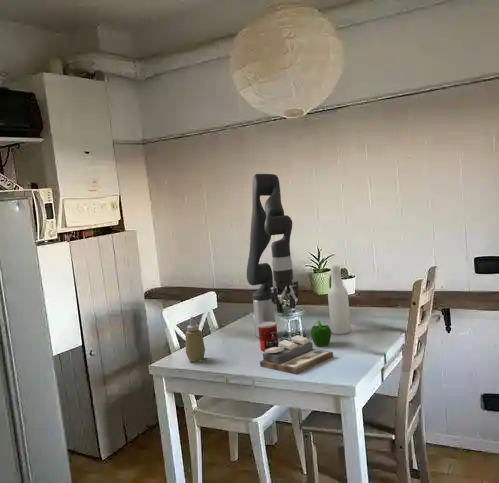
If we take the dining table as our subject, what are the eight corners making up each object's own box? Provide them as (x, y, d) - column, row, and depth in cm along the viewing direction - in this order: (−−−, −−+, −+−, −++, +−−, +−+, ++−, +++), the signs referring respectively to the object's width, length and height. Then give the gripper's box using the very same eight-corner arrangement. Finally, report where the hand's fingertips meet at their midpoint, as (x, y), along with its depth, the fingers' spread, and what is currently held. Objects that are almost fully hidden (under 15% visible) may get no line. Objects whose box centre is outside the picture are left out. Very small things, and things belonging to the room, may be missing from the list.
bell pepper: (331, 347, 232) (329, 323, 231) (311, 348, 234) (309, 324, 233) (332, 341, 241) (330, 318, 240) (313, 342, 242) (310, 319, 241)
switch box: (260, 366, 217) (259, 353, 217) (297, 350, 233) (296, 338, 232) (296, 374, 204) (295, 360, 204) (333, 357, 220) (332, 344, 219)
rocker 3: (291, 341, 227) (291, 337, 226) (297, 338, 230) (297, 334, 229) (303, 345, 222) (303, 342, 222) (309, 343, 225) (310, 339, 225)
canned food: (266, 353, 233) (263, 327, 232) (257, 349, 240) (254, 324, 239) (282, 349, 237) (279, 323, 235) (272, 345, 244) (270, 320, 243)
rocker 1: (265, 354, 217) (264, 350, 217) (272, 351, 219) (271, 347, 219) (277, 353, 212) (276, 349, 212) (284, 350, 215) (283, 346, 215)
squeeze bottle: (198, 363, 228) (193, 320, 226) (182, 362, 233) (177, 319, 231) (210, 357, 235) (205, 315, 233) (194, 356, 239) (189, 314, 238)
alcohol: (345, 328, 259) (339, 263, 256) (354, 332, 251) (349, 265, 248) (327, 331, 256) (322, 266, 253) (336, 336, 248) (331, 268, 245)
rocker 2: (278, 346, 222) (278, 342, 221) (285, 343, 224) (285, 339, 224) (290, 351, 217) (291, 347, 217) (297, 348, 220) (297, 344, 220)
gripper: (287, 264, 225) (291, 305, 226) (262, 271, 215) (266, 314, 216) (302, 265, 219) (306, 307, 221) (277, 271, 209) (281, 316, 211)
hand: (286, 310), depth 219 cm, fingers open, 6 cm apart
